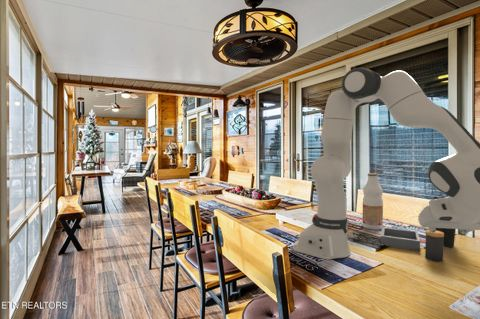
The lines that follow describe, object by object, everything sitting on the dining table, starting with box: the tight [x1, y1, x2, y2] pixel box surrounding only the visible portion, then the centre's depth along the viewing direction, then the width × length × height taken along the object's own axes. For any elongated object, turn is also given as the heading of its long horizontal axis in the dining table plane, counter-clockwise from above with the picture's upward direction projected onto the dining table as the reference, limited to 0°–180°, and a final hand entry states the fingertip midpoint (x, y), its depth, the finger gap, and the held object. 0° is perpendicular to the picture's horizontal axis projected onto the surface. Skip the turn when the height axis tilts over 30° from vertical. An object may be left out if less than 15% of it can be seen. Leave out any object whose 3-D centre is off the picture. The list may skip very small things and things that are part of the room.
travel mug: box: [433, 196, 456, 249], centre depth 116 cm, size 8×8×20 cm
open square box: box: [380, 226, 421, 252], centre depth 119 cm, size 14×14×4 cm
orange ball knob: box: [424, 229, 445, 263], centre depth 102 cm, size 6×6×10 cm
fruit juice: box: [362, 172, 384, 231], centre depth 141 cm, size 9×9×28 cm
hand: (447, 231), depth 93 cm, fingers open, 8 cm apart
